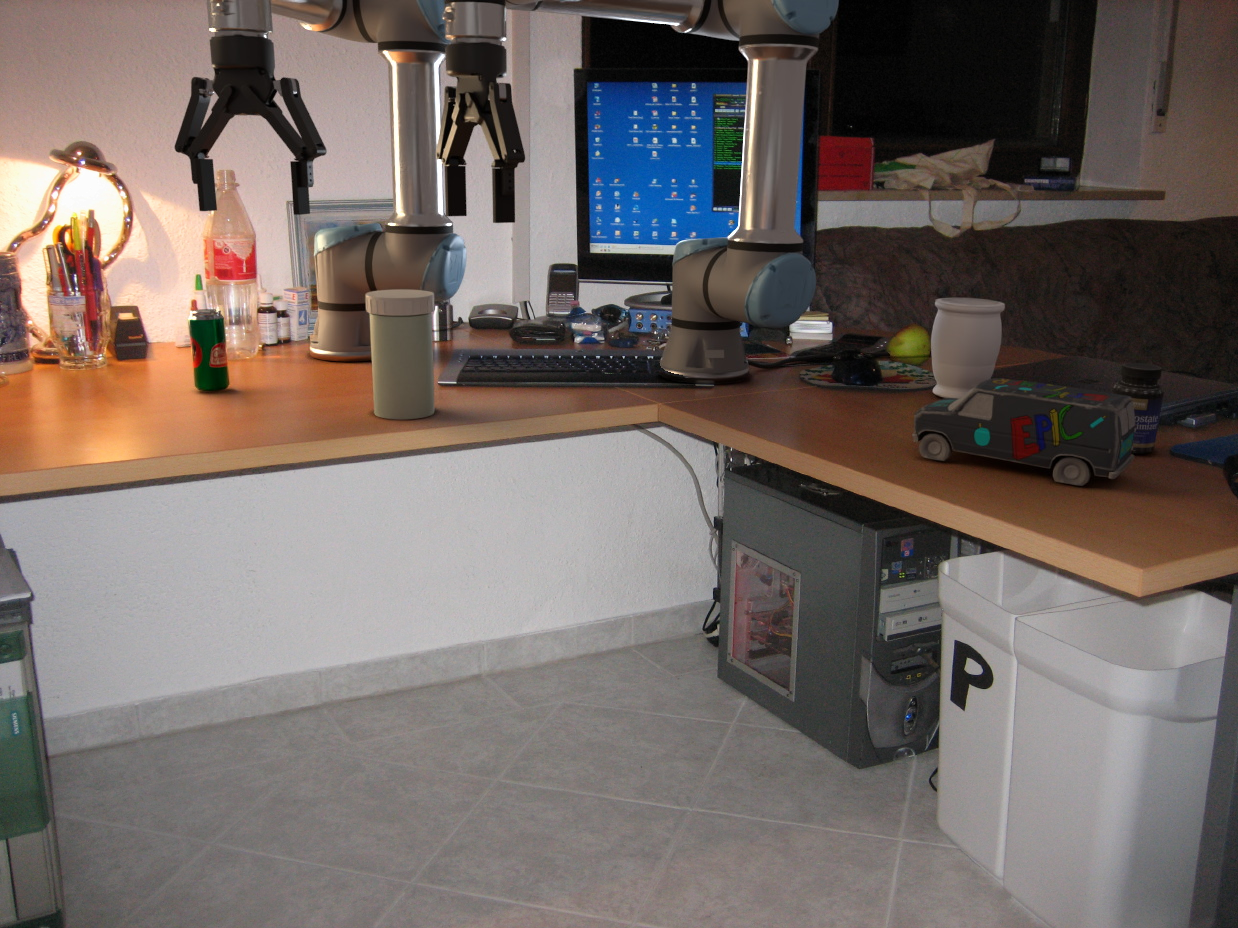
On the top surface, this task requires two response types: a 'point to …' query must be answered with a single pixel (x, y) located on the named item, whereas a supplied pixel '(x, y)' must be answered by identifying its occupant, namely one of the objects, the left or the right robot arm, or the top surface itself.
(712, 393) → the top surface
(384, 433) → the top surface
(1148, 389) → the pill bottle
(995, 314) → the jar
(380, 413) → the screw-top jar
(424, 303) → the lid
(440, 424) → the top surface
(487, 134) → the right robot arm
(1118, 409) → the toy van
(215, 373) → the soda can
